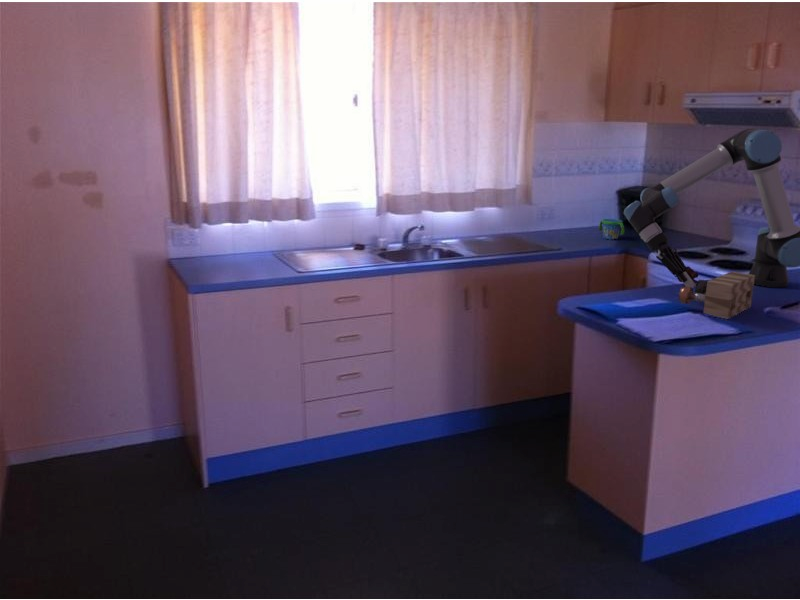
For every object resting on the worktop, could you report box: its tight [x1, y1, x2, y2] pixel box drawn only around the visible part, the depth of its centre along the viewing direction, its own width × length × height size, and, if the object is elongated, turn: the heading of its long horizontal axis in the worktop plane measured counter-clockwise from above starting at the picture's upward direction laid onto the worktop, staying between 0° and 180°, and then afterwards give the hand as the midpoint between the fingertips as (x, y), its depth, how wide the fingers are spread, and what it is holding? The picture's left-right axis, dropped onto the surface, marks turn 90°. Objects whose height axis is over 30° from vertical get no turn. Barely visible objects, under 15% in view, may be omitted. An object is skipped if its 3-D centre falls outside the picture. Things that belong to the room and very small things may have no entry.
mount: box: [702, 271, 755, 319], centre depth 249 cm, size 22×8×12 cm, turn 136°
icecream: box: [676, 266, 699, 283], centre depth 291 cm, size 7×7×15 cm
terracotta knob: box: [678, 285, 706, 305], centre depth 250 cm, size 6×10×6 cm, turn 46°
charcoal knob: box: [694, 279, 708, 294], centre depth 259 cm, size 6×10×6 cm, turn 46°
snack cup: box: [598, 218, 625, 241], centre depth 386 cm, size 16×10×10 cm
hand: (692, 288), depth 264 cm, fingers closed
